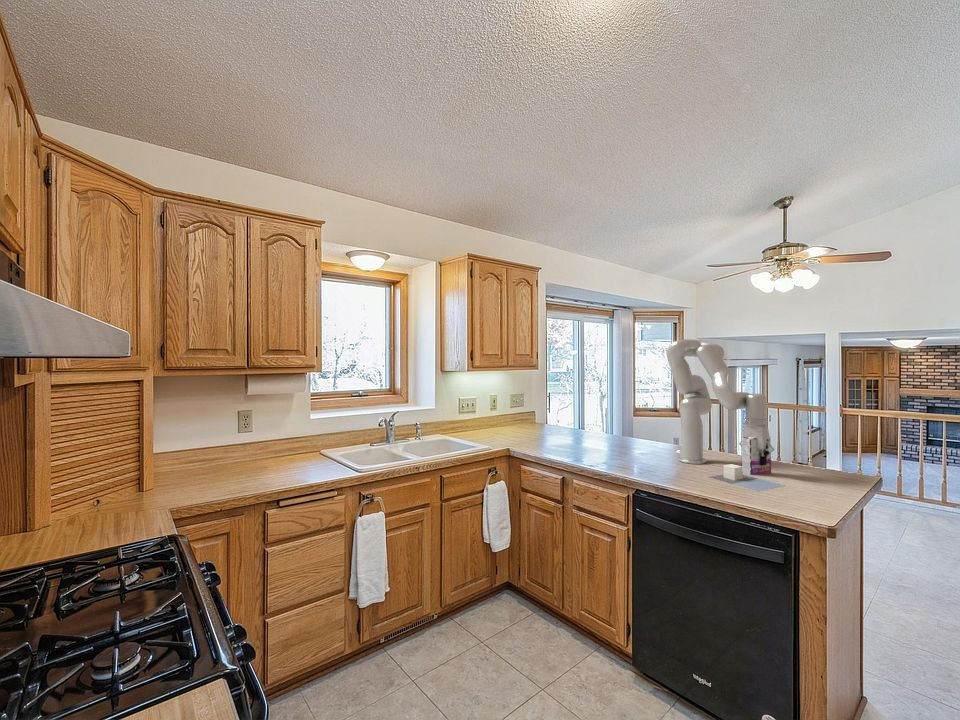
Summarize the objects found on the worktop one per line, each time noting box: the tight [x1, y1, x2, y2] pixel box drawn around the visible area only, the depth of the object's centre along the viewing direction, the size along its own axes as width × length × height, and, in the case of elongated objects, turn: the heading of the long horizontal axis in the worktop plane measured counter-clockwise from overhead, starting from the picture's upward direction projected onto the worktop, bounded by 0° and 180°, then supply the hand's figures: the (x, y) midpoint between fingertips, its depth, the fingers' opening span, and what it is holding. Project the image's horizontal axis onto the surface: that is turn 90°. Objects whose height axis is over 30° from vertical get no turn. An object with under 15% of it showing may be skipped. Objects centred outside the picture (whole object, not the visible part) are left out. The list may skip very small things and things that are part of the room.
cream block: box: [722, 463, 744, 480], centre depth 189 cm, size 5×5×5 cm
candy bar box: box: [741, 436, 772, 476], centre depth 197 cm, size 11×5×16 cm, turn 106°
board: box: [708, 473, 786, 492], centre depth 184 cm, size 22×16×1 cm
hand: (756, 463), depth 197 cm, fingers closed on candy bar box, 5 cm apart
